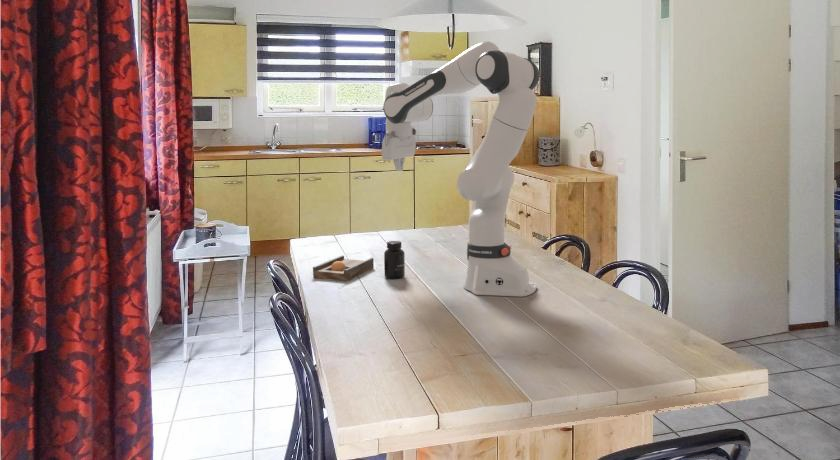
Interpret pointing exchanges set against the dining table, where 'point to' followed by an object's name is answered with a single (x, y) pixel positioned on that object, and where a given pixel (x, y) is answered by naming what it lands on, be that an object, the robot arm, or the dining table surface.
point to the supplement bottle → (394, 260)
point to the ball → (338, 266)
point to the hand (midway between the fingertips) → (399, 170)
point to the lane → (351, 271)
